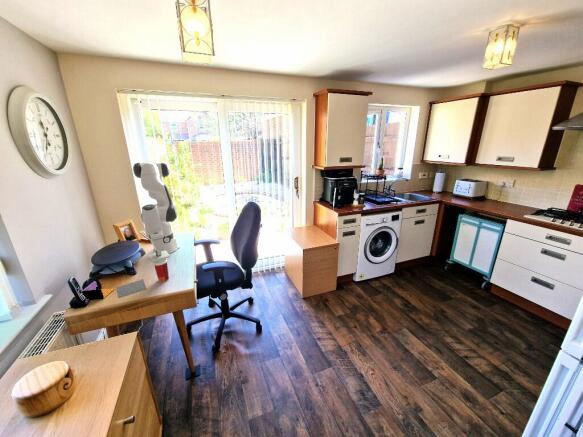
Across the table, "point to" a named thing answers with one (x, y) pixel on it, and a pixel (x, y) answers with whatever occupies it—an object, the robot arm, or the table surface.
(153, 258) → the lid
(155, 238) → the robot arm
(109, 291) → the miniature room corner
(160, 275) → the paper cup
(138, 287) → the mat
